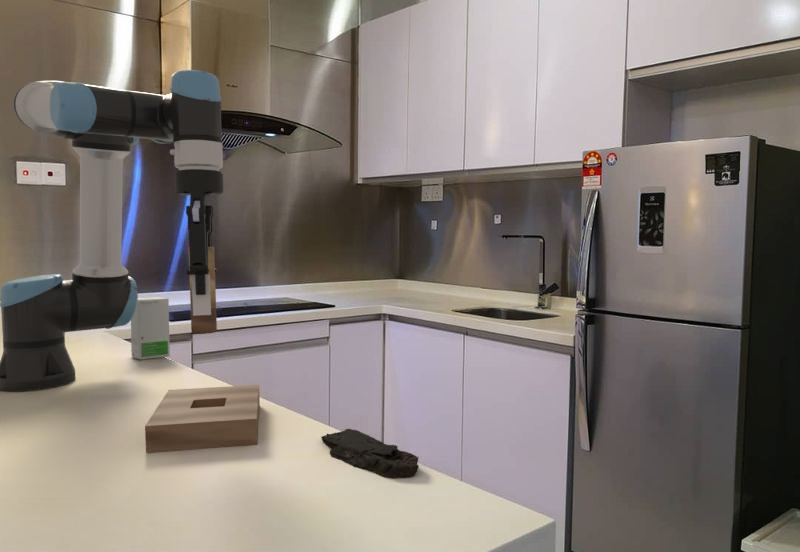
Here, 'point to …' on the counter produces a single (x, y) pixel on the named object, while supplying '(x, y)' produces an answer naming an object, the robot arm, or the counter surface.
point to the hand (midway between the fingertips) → (203, 313)
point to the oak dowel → (209, 322)
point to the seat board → (204, 419)
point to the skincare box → (150, 329)
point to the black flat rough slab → (371, 454)
